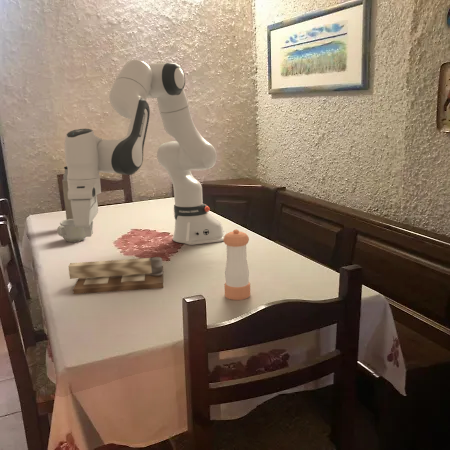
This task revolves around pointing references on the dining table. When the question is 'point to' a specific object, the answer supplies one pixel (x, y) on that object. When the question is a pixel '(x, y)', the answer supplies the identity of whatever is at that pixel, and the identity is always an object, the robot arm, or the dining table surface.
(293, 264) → the dining table surface
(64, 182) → the thermos bottle
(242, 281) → the pepper shaker
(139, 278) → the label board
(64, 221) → the teacup
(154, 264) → the swing bar
